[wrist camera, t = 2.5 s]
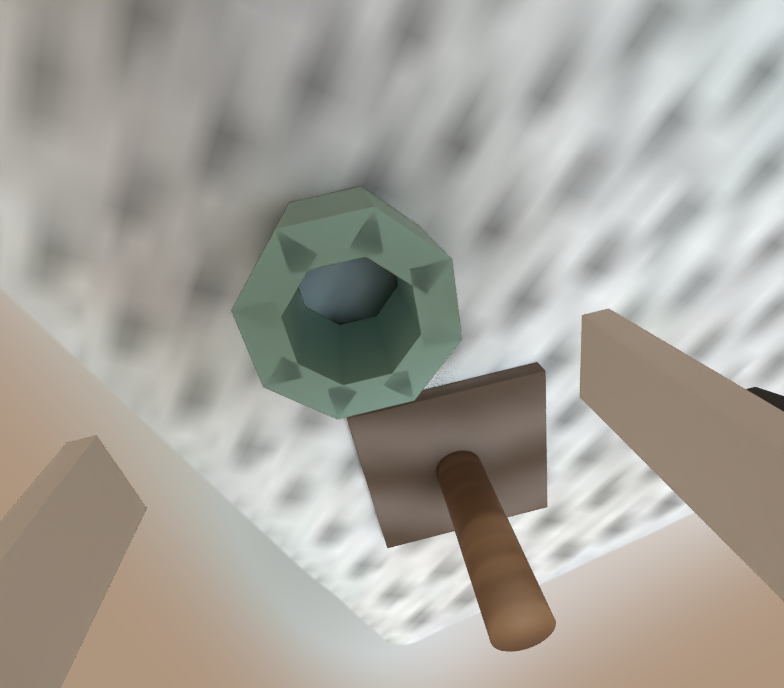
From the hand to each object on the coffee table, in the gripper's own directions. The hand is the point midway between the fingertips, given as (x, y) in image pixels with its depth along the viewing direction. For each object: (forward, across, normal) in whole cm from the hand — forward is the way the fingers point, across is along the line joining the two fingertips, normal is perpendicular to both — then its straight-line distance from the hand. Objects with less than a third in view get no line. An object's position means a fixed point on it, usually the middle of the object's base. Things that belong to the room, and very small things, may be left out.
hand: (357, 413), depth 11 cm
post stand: (+11, +4, -14) cm, 18 cm away
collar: (+11, 0, 0) cm, 11 cm away
